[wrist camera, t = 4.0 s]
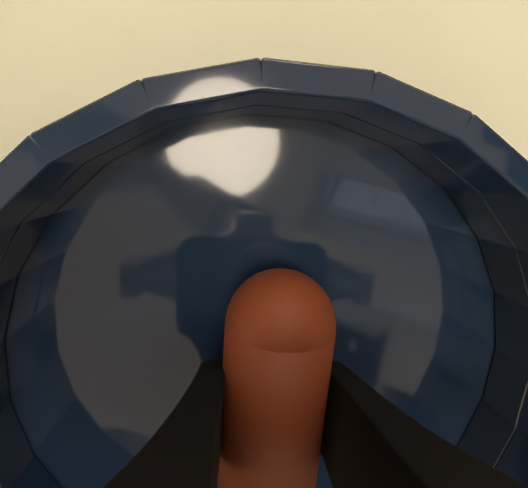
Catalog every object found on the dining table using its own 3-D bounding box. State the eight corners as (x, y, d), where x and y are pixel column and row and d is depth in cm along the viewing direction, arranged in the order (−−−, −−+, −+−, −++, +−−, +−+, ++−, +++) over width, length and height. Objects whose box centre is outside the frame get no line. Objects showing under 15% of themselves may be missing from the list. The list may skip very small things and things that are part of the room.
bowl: (245, 617, 14) (250, 758, 11) (-129, 360, 10) (-307, 457, 7) (576, 365, 13) (698, 435, 10) (300, -45, 9) (344, -173, 6)
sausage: (299, 469, 12) (321, 564, 9) (216, 472, 12) (212, 571, 9) (324, 258, 10) (361, 293, 8) (227, 253, 10) (227, 289, 7)
